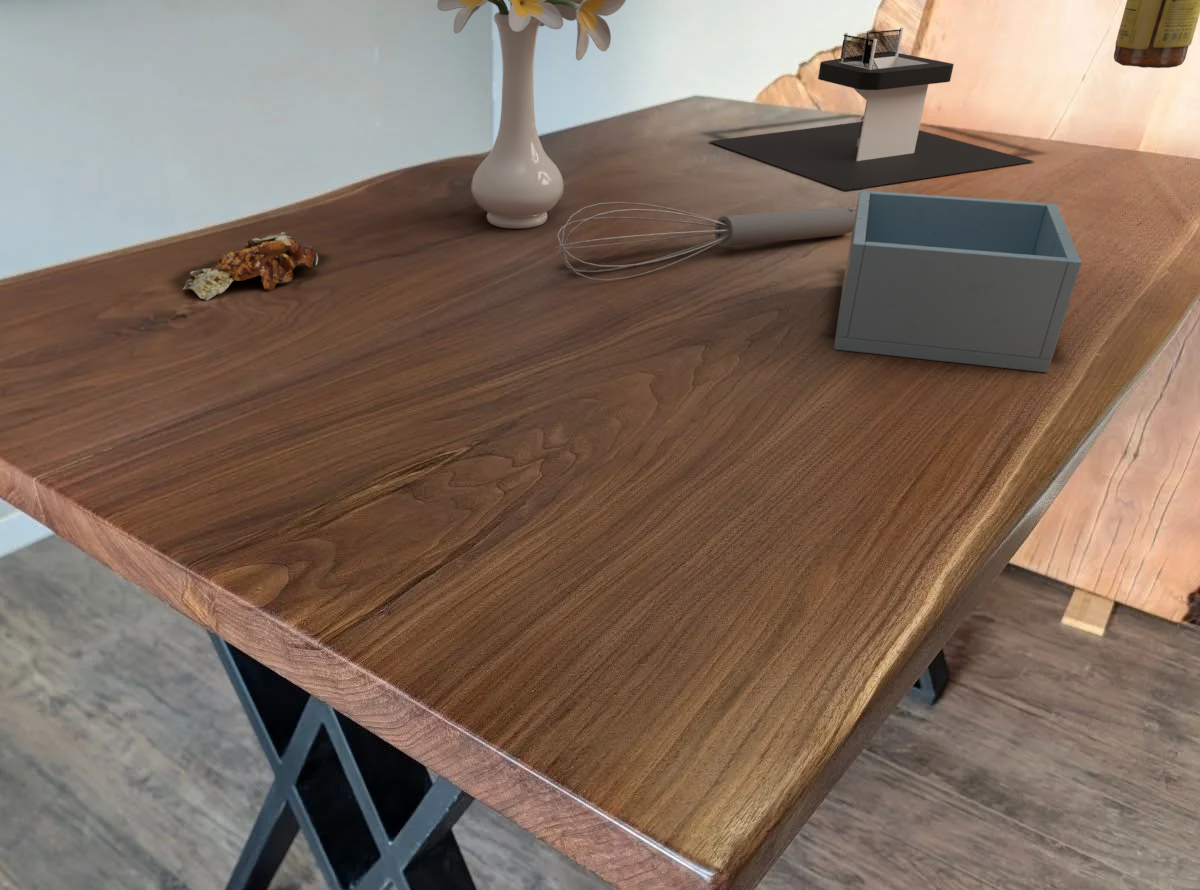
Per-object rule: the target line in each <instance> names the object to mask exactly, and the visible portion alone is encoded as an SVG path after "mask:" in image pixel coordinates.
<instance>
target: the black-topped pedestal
mask: <svg viewBox="0 0 1200 890" xmlns="http://www.w3.org/2000/svg"><path fill="white" fill-rule="evenodd" d="M903 33H904V27H900V28H899V29H890V30H879V31H878V30H877V31H869V30H866V32H865V38H864V37H859V36H854V35H849V33H848V32H844V34H843V39H842V46H841V53H840V57H839V58H835V59H829V60H828V59H827V60H823V61H820V62H819V63H820V64H819V70H818V77H817V80H818V81H819V80H820V81H822V82H826V83H831V84H836V85H840V86H843V87H848V88H851V89H854V91H855V92H856V93H857V94H859V95H860V96H861V97H862V98H863V99H865V101H866V103H865V107H864V113H863V117H862V118H861V121H856V122H847V123H840V124H833V125H825V126H816V127H809V128H802V129H792V130H786V131H785V130H784V131H777V132H769V133H762V134H754V135H747V136H739V137H729V138H723V139H715V140H708V143H709V142H710V143H711V144H714V145H716V146H717V145H718V146H720V147H723V148H726V149H729V150H732V151H734V152H736V153H740V154H743V155H746V156H747V157H751V158H754V159H757V160H760V161H762V162H765V163H767V164H771V165H773V166H777V167H779V168H782V169H785V170H787V171H791V172H792V173H796V174H799V175H801V176H805V177H807V178H809V179H813V180H816V181H818V182H821V183H823V184H826V185H829V186H833V187H834V188H838V189H840V190H843V191H850V190H857V189H862V188H870V187H877V186H883V185H891V184H897V183H903V182H909V181H917V180H922V179H928V178H934V177H941V176H949V175H955V174H961V173H968V172H975V171H981V170H988V169H992V168H993V169H994V168H1000V167H1007V166H1013V165H1020V164H1027V163H1034V162H1035V160H1032V159H1028V158H1025V157H1021V156H1017V155H1013V154H1010V153H1006V152H1002V151H997V150H995V149H991V148H988V147H984V146H980V145H977V144H972V143H969V142H965V141H962V140H957V139H954V138H950V137H947V136H942V135H939V134H935V133H932V132H928V131H925V130H921V129H920V126H921V122H922V117H923V111H924V107H925V104H926V103H925V102H926V97H927V93H928V88H929V85H935V84H944V83H950V82H951V79H952V74H953V71H954V65H955V64H954V63H951V62H946V61H941V60H936V59H931V58H927V57H926V58H925V57H920V56H916V55H911V54H905V53H901V52H900V47H901V42H902V37H903Z"/></svg>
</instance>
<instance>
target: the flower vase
mask: <svg viewBox="0 0 1200 890" xmlns="http://www.w3.org/2000/svg"><path fill="white" fill-rule="evenodd" d="M507 1H508V2H509V3H510V4H509V5H510V6H509V8H508V6H507V4H506V1H505V0H437V4H436V5H437V6H436V8H437V9H438V10H439V11H441V12H447V11H452V10H456V9H458V12H457V13H456V15H455V17H454V20H453V33H454V34H459V33H460V32H462V30H463V29H464V28H465V26H466V25H467V23H468V22H469V20H470V19H471V17H472V15H473V14H474V13H476V12H477V11H478V10H479V9H480V8H481V7H482V6H484V5H485V4H487V3H488V2H489V3H491V4H493V5H495V6H496V7H497V9H498V12H496V13H495V14H494V16H493V21H494V23H495V25H496V28H497V30H498V36H499V42H500V44H499V45H500V51H501V63H502V64H501V65H502V67H501V68H502V76H501V77H502V80H501V109H500V120H499V126H498V132H497V136H496V138H495V141H494V144H493V146H492V149H491V151H490V152H489V153H488V155H487V156H486V157H485V158H484V159H483V161H481V163H480V164H479V165H478V167H477V168H476V170H475V172H474V174H473V176H472V178H471V179H472V180H471V184H470V192H471V193H470V194H471V196H472V197H473V199H474V201H475V203H476V205H478V206H479V208H481V209H482V210H483V211H485V212H486V213H487V214H486V220H487V221H488V224H491V225H492V226H495V227H498V228H503V229H515V230H517V229H518V230H521V229H530V228H536V227H539V226H541V225H543V224H545V223H546V222H547V220H548V217H549V216H548V213H547V212H550V211H551V210H552V209H553V208H554V207H555V206H556V205H557V204H558V203H559V202H560V200H561V198H562V197H563V193H564V188H565V186H564V185H565V184H564V180H563V176H562V173H561V172H560V169H559V168H558V166H557V165H556V164H555V162H554V161H553V160H552V159H551V158H550V157H549V156H548V154H547V153H546V152H545V150H544V148H543V145H542V142H541V140H540V137H539V134H538V129H537V125H536V115H535V92H534V90H535V89H534V88H535V87H534V64H535V53H536V52H535V51H536V44H537V39H538V32H539V29H540V28H539V27H544V26H546V27H547V28H550V29H552V30H561V28H562V27H564V20H566V21H570V22H573V21H576V26H577V27H576V29H577V35H576V46H575V59H576V60H577V61H578V62H579V61H581V60H582V59H583V58H584V56H585V54H586V53H587V50H588V48H589V44H590V38H591V40H592V41H593V43H594V44H595V46H596V48H597V49H599V51H601V52H606V51H607V50H608V49H609V48H610V46H611V40H612V36H611V29H610V26H609V24H608V22H607V21H606V19H604V18H603V17H608V16H611V15H613V14H615V13H616V12H618V11H619V10H620V9H621V8H622V7H623V6H624V5H625V3H626V1H627V0H507ZM602 16H603V17H602Z"/></svg>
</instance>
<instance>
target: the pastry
mask: <svg viewBox="0 0 1200 890" xmlns="http://www.w3.org/2000/svg"><path fill="white" fill-rule="evenodd" d="M243 248H244V249H242V250H236V251H229V252H228V253H227V254H223V255H222V256H221V257H220V258H219V259H217V263H215V264H214V265H213V266H212V267H210V268H197V269H196V270H192V271H190V272H189V277H190V279H187V280H186V282H185V284H184V287H183V288H182V290H191V291H193V292H194V293H195V294H196V295H197V296H198V297H199V298H200V299H203V300H205V301H209V300H210V299H212V298H213V297H215V296H216V295H219V294H223V293H224V292H226V290H227V289H228V288H229V287H230V286H231V284H232V283H233V282H234V281H237V282H239V281H245V280H249V279H252V278H255V277H260V276H261V280H260V281H261V283H262V285H263V289H264V290H265V291H269V292H271V291H273V290H274V288H275V287H276V285H277V284H278V285H279V284H285V283H289V282H292V280H293V279H294V273H293V271H294V269H295V268H296V267H297V266H298V265H301V263H302V264H304V263H305V265H306V266H307V267H308V268H314V267H316V266H317V265H318V262H319V256H318V253H317V252H316V251H315V250H314V247H313V246H312V245H311V244H308V245H306V246H305V245H304V250H303V247H302V246H301V244H299V243H298V242H297V240H293V239H292V236H290V234H289V231H287V232H285V231H282V232H280V233H276V234H270V235H267V236H265V237H262V238H258V237H253V238H252V239H248V240H247V242H246V243H245V244H244V246H243Z"/></svg>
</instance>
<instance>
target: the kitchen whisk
mask: <svg viewBox="0 0 1200 890" xmlns="http://www.w3.org/2000/svg"><path fill="white" fill-rule="evenodd" d="M615 204H619V205H620V204H622V205H639V206H645V207H652V208H658V209H648V208H647V209H646V208H645V209H643V208H628V209H615V210H611V211H606V212H603V213H597V214H595V215H593V216H590V217H587V218H583V219H578V220H573V221H571V219H572V218H573V217H574V216H576V215H577V214H579V213H581V212H582V211H583V210H585V209H590V208H593V207H596V206H602V205H603V206H604V205H615ZM660 209H662V210H660ZM663 209H664V210H663ZM855 210H857V206H856V207H845V206H842V205H841V206H832V207H819V208H807V209H793V210H781V211H772V212H771V211H770V212H758V213H757V212H756V213H749V214H747V213H745V214H736V215H735V214H734V215H722V216H720V217H719V218H718V219H717V220H716V219H713V218H709V217H706V216H703V215H699V214H697V213H692V212H688V211H684V210H680V209H676V208H671V207H666V206H662V205H661V206H660V205H655V204H648V203H642V202H641V203H640V202H629V201H627V202H626V201H613V202H612V201H611V202H599V203H595V204H591V205H587V206H583V207H582V208H580V209H578V210H577V211H576V212H574V213H573V214H571V215H570V216H569V218H568V220H567V221H566V223H565V224H564V225H562V226H561V227H560V229H559V231H558V233H557V234H556V235H557V239H558V242H559V245H558V246H555V250H561V261H562V262H563V263H564V265H565V267H566V268H568V269H570V270H572V271H573V272H574V273H575V274H576V275H579V276H581V277H583V278H586V279H588V280H593V281H605V282H609V281H619V280H626V279H630V278H631V279H632V278H635V277H638V276H645V275H647V274H649V273H653V272H656V271H659V270H662V269H665V268H667V267H669V266H673V265H675V264H678V263H680V262H682V261H684V260H687V259H689V258H691V257H694V256H696V255H698V254H700V253H703V252H705V251H707V250H708V249H711V248H712V247H715V245H719V246H721V247H733V246H735V247H736V246H744V245H745V246H746V245H754V244H755V245H756V244H763V243H764V244H765V243H775V242H787V241H794V240H795V241H796V240H807V239H817V238H827V237H828V238H829V237H836V236H843V235H845V234H847V233H852V232H853V226H854V221H855V215H856V211H855ZM621 212H622V213H623V212H657V213H665V214H672V215H673V214H674V215H678V216H679V215H680V216H685V217H690V218H695V219H699V220H704V221H707V222H712V223H715V224H710V223H701V222H693V221H685V220H676V219H664V218H654V217H653V218H652V217H637V216H636V217H635V216H634V217H633V216H603V215H609V214H613V213H621ZM603 219H604V220H605V219H609V220H611V219H612V220H615V219H618V220H619V219H621V220H622V219H628V220H648V221H661V222H672V223H682V224H690V225H699V226H705V227H706V226H707V227H714V229H712V230H711V229H709V230H708V229H707V230H693V231H692V230H691V231H678V232H677V231H676V232H673V231H672V232H660V233H648V234H647V233H646V234H645V233H644V234H633V235H623V236H622V235H621V236H614V237H604V238H602V237H601V238H596V239H588V240H581V241H575V242H569V243H567V242H568V240H569V238H570V236H571V234H572V233H573V232H574V231H575V230H576V229H578V227H580V226H581V225H582V224H583V223H585V222H587V221H593V220H603ZM575 223H578V224H577V225H576V226H575V227H574V228H572V229H571V230H570V231H569V233H568V235H567V237H566V238H565V229H566V227H568V226H570V225H572V224H575ZM561 232H562V237H561V238H560V234H561ZM679 234H680V236H671V237H662V238H654V239H646V240H644V239H643V240H635V241H625V242H617V243H615V242H614V243H606V244H605V243H604V244H596V245H594V244H593V245H584V246H572V245H577V244H583V243H592V242H598V241H607V240H617V239H629V238H639V237H651V236H665V235H679ZM682 234H687V235H682ZM708 235H714V239H711V240H708V241H706V242H703V243H700V244H697V245H695V246H692V247H688V248H685V249H682V250H680V251H676V252H674V253H670V254H667V255H663V256H660V257H656V258H654V259H650V260H646V261H642V262H638V263H631V264H630V263H629V264H621V265H614V264H613V265H609V264H607V265H606V264H597V263H592V262H587V261H584V260H582V259H579V258H578V257H576V256H574V255H572V254H571V253H570V251H568V250H575V249H585V248H586V249H588V248H599V247H608V246H618V245H629V244H637V243H638V244H639V243H647V242H656V241H665V240H673V239H674V240H675V239H682V238H692V237H699V236H708ZM567 246H570V247H567ZM571 246H572V247H571ZM702 248H703V249H702ZM700 249H701V250H700ZM696 250H699V251H697V252H694V251H696ZM690 252H694V253H692V254H690V255H688V256H686V257H683V258H681V259H679V260H676V261H673V262H671V263H668V264H666V265H663V266H660V267H658V268H654V269H651V270H649V271H645V272H641V273H637V274H634V275H629V276H625V277H615V278H597V277H596V278H595V277H589V276H587V275H585V274H582V272H583V273H601V272H602V273H603V272H610V271H616V270H622V269H627V268H631V267H635V266H641V265H645V264H651V263H656V262H660V261H664V260H668V259H672V258H675V257H679V256H682V255H685V254H688V253H690ZM567 255H568V256H569V257H570V258H572V259H574V260H577V262H581V263H583V264H585V265H590V266H593V267H594V266H595V267H601V268H607V269H599V270H598V269H597V270H584V269H577V268H575V267H573V266H572V265H571V264H570V262H569V261H568V258H567Z"/></svg>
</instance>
